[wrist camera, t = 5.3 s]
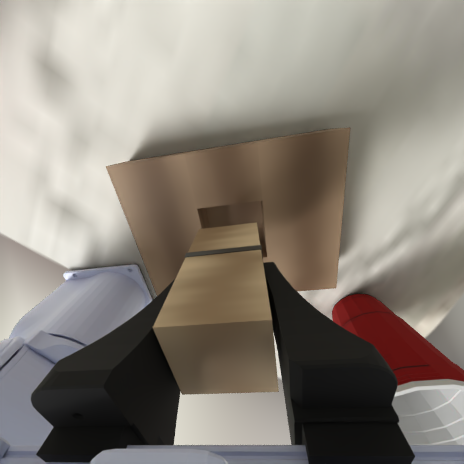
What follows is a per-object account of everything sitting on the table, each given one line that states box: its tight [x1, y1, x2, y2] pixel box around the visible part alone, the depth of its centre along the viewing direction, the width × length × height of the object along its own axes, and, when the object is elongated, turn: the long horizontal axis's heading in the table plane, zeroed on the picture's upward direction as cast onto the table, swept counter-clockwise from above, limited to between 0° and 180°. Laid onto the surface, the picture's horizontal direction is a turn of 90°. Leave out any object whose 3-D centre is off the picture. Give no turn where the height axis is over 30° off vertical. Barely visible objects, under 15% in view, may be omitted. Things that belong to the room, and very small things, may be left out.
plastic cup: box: [332, 294, 464, 445], centre depth 20 cm, size 11×11×12 cm
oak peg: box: [153, 222, 278, 394], centre depth 11 cm, size 4×4×8 cm
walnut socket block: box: [106, 128, 350, 296], centre depth 19 cm, size 18×14×4 cm
